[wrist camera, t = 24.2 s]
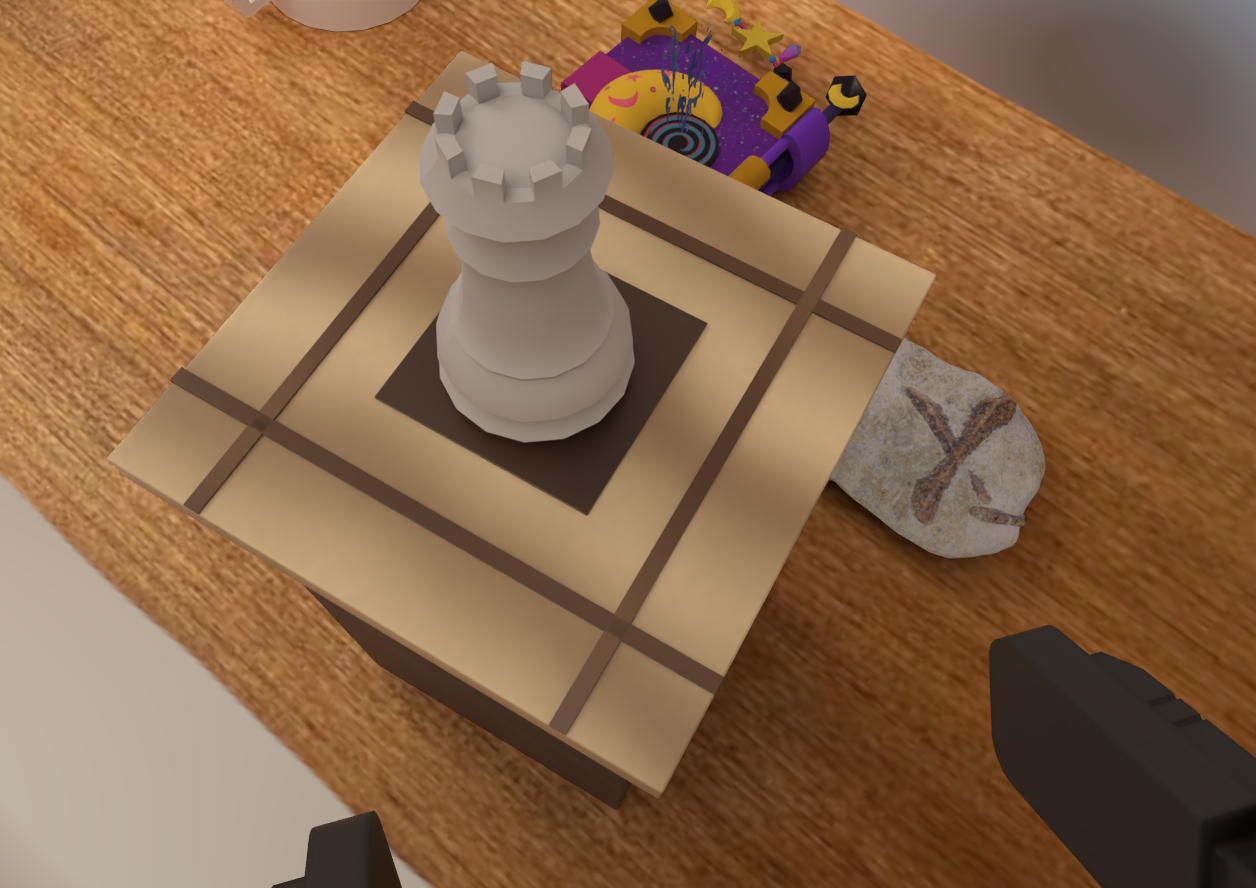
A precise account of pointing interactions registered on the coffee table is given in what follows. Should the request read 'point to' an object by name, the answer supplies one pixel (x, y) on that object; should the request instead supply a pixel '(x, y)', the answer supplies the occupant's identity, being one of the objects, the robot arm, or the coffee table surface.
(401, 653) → the board stand
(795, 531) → the game board
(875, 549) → the coffee table surface
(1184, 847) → the robot arm
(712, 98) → the book
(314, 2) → the mug
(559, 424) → the rook chess piece
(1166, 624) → the coffee table surface
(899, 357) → the stone
